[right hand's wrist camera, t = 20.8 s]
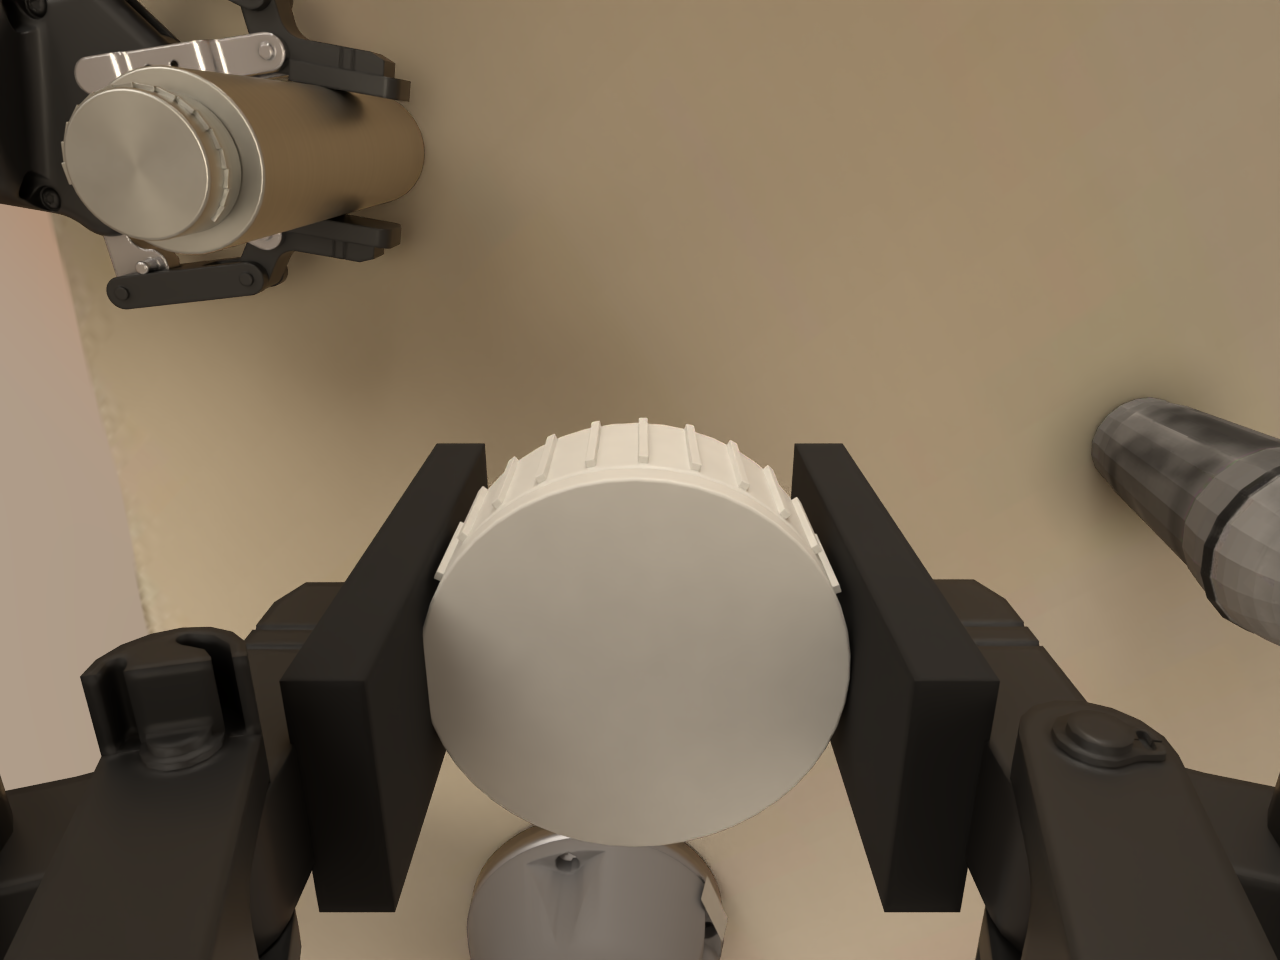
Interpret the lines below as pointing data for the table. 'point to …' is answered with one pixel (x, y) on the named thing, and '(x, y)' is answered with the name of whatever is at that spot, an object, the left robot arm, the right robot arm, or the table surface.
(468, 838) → the table surface
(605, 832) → the lid
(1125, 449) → the beverage cup
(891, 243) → the table surface
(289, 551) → the table surface
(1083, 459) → the table surface
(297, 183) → the tan tube
